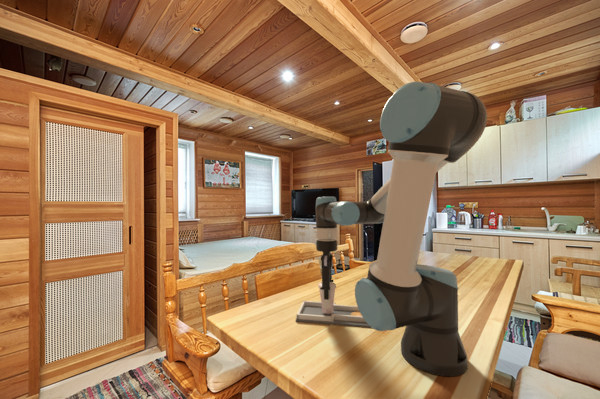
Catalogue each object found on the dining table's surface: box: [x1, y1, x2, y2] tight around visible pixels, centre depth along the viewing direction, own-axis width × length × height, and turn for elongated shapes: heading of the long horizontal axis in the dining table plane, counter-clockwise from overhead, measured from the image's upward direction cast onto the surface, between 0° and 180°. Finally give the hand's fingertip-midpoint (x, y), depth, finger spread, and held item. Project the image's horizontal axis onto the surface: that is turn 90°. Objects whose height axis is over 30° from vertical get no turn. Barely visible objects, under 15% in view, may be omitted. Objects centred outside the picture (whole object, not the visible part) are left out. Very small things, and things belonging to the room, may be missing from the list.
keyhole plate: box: [295, 300, 373, 329], centre depth 89 cm, size 14×26×2 cm, turn 79°
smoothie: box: [317, 281, 337, 314], centre depth 90 cm, size 6×6×14 cm
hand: (327, 304), depth 89 cm, fingers closed on smoothie, 6 cm apart
